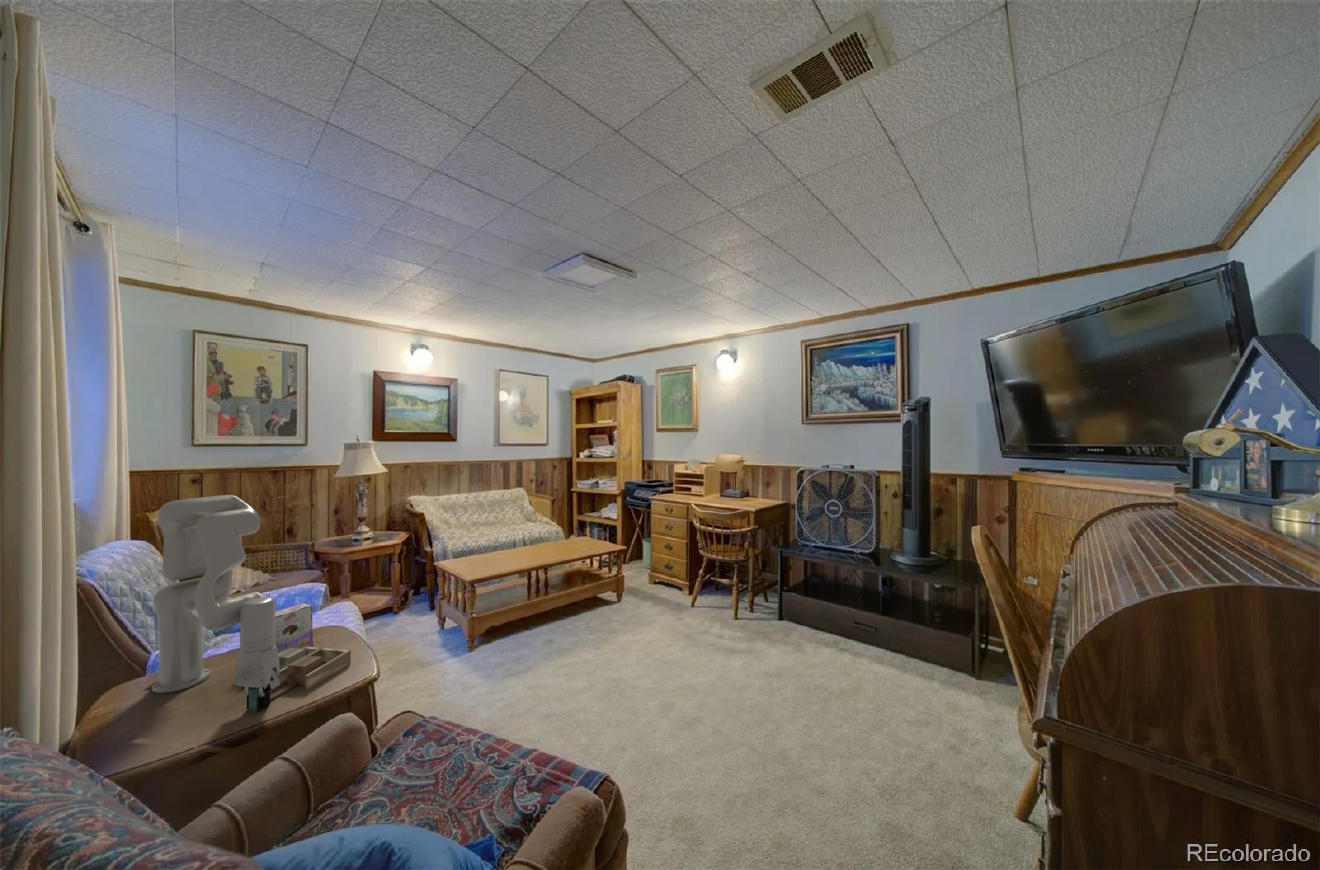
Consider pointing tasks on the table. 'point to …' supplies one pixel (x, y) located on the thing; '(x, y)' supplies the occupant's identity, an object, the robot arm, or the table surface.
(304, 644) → the candy box
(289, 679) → the tethered block
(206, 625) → the robot arm
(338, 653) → the lane organizer
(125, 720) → the table surface
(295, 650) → the grey block
